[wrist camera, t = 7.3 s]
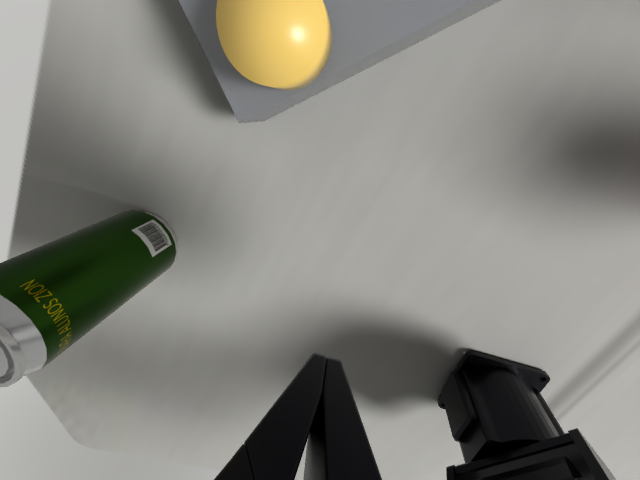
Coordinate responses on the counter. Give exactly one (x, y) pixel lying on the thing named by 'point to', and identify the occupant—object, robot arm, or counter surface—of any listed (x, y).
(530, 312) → the counter surface
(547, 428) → the robot arm
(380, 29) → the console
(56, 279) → the beer can
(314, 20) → the amber button
